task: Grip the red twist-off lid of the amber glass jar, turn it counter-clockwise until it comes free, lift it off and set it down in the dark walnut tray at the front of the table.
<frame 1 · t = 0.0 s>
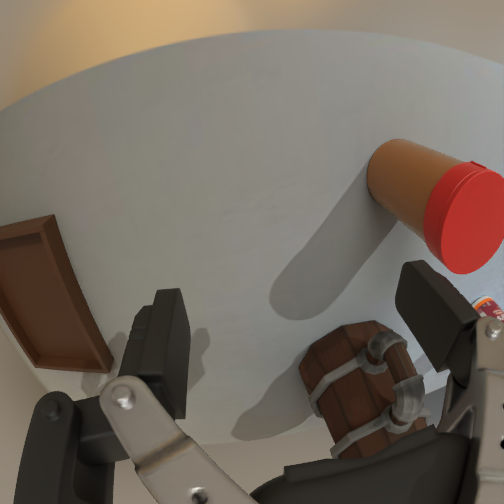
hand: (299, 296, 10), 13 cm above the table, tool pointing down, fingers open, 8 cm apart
pill bottle: (474, 311, 32), on the table
mug: (351, 344, 31), on the table
tray: (42, 300, 24), on the table
lid: (476, 223, 13), point 10 cm above the table, screwed on, not yet turned
jar: (397, 174, 22), on the table
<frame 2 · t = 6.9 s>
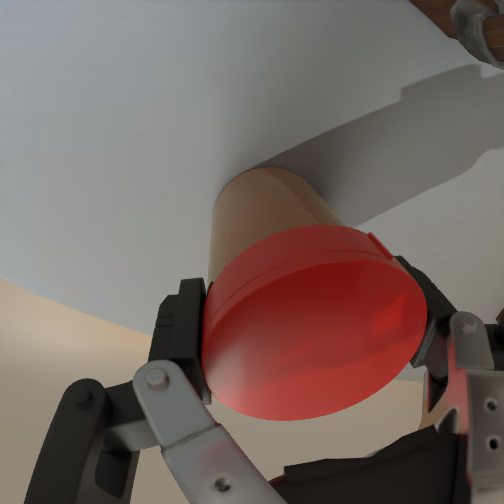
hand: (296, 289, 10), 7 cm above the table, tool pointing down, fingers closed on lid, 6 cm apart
lid: (320, 354, 8), point 10 cm above the table, off its thread, touching gripper, jar
jar: (267, 219, 16), on the table, touching gripper, lid
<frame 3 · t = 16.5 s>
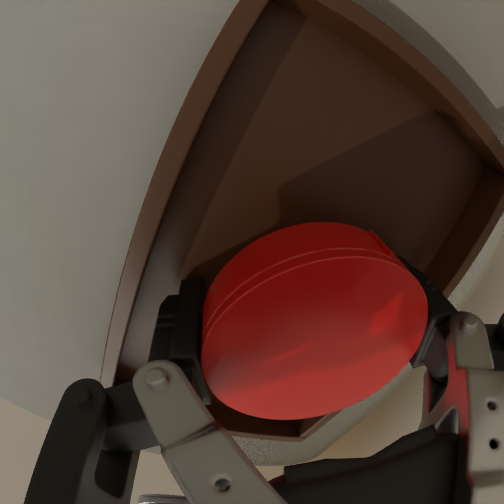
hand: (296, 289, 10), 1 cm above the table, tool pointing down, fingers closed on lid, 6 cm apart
tray: (290, 278, 11), on the table
lid: (320, 352, 8), point 4 cm above the table, off its thread, touching gripper
when the fingers open (2 cm above the table, at t = 26.2 s): lid drops 3 cm, resting on tray.
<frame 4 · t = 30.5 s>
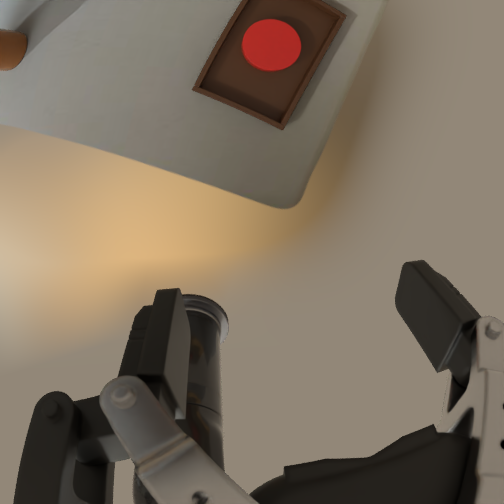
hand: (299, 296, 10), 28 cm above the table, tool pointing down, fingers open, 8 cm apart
tray: (269, 48, 28), on the table
lid: (271, 44, 27), point 2 cm above the table, off its thread, touching tray
jar: (12, 51, 22), on the table
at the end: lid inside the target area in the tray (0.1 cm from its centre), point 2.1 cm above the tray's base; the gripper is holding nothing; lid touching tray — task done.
